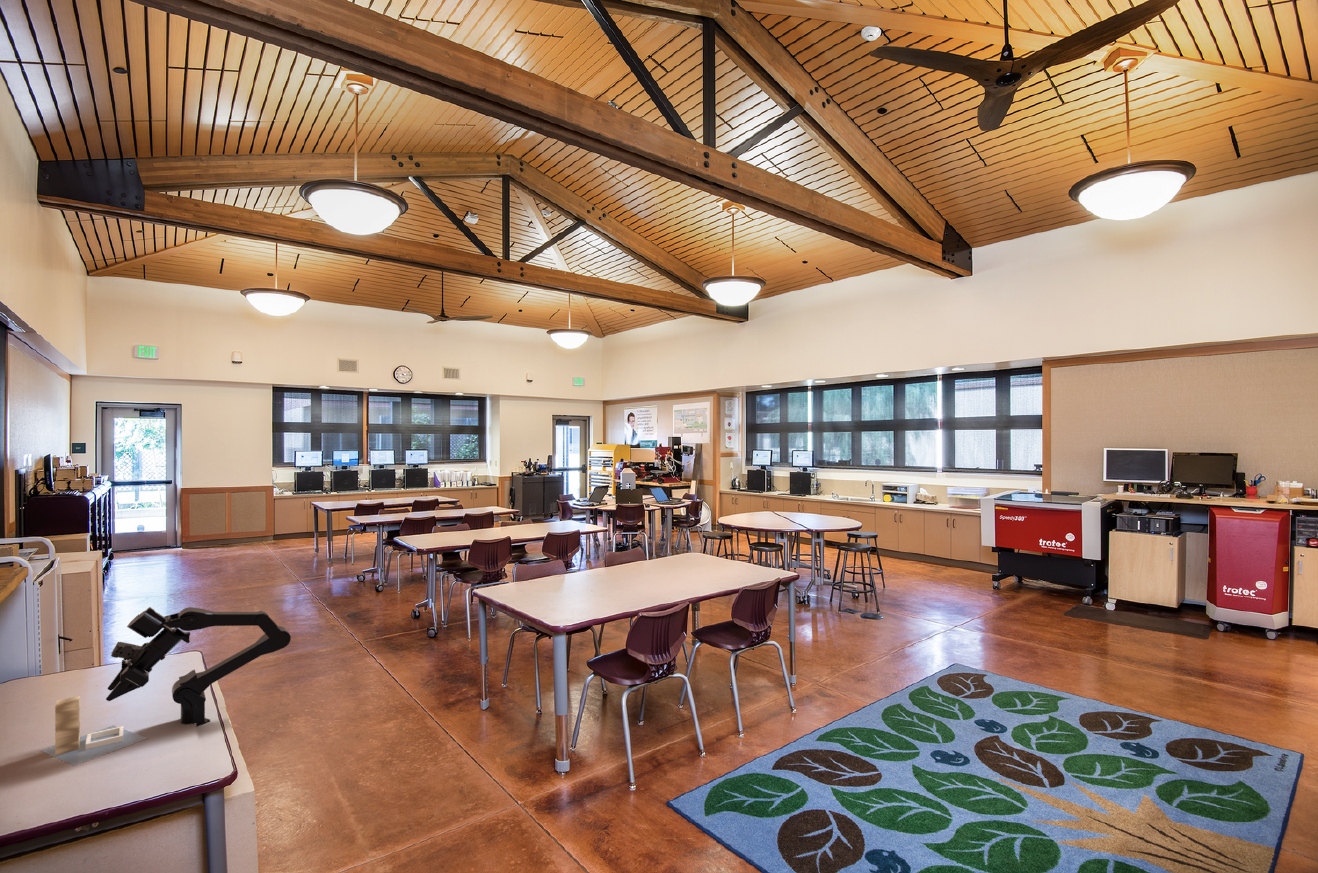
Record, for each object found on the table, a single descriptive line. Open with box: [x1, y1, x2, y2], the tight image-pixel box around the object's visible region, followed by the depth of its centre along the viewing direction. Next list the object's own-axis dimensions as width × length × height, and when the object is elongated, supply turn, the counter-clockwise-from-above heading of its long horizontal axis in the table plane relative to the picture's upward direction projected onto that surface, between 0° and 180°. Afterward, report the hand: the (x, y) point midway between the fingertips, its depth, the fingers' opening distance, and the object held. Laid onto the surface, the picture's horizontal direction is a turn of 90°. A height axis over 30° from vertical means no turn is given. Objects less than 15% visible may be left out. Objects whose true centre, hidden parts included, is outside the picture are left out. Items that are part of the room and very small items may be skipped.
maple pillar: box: [54, 695, 81, 755], centre depth 166 cm, size 4×4×13 cm
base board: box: [40, 725, 148, 767], centre depth 169 cm, size 18×16×1 cm
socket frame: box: [85, 725, 125, 750], centre depth 171 cm, size 8×8×2 cm
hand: (108, 695), depth 172 cm, fingers open, 9 cm apart
